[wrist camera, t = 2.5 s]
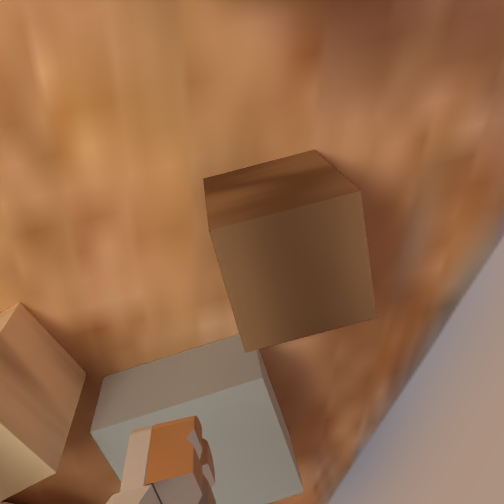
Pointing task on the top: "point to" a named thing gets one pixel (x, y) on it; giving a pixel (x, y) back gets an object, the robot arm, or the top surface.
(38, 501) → the top surface
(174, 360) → the base block
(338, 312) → the walnut block
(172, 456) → the robot arm
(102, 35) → the top surface
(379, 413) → the top surface
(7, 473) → the beech block
